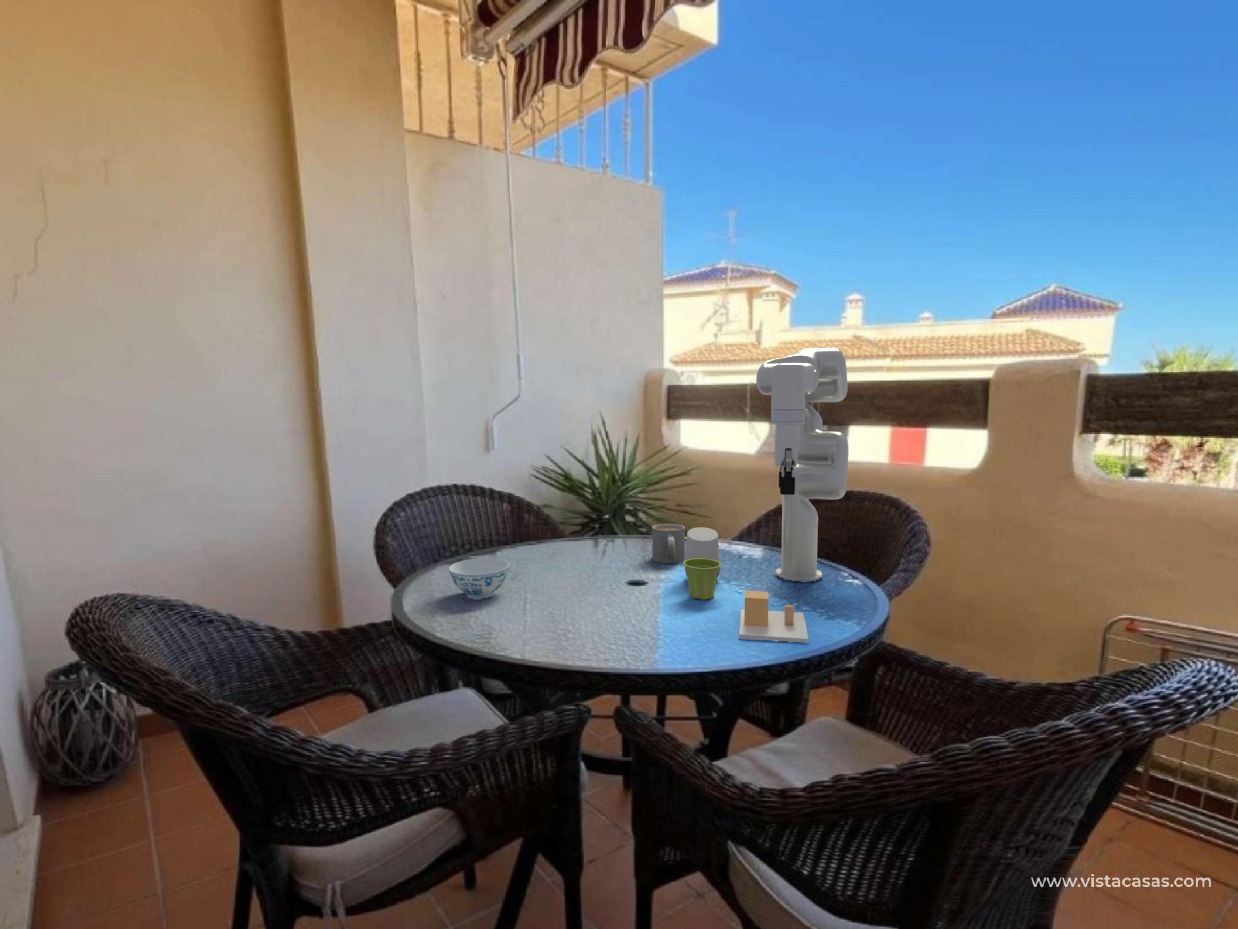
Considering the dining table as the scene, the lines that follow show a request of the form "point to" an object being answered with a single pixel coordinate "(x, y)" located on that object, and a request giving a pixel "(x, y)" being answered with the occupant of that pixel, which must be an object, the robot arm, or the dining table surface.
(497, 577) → the chinaware
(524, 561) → the dining table surface
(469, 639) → the dining table surface
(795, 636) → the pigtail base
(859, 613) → the dining table surface
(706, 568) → the plant pot
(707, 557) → the smart speaker
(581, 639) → the dining table surface
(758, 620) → the tan cardboard-like box
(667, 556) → the coffee mug
